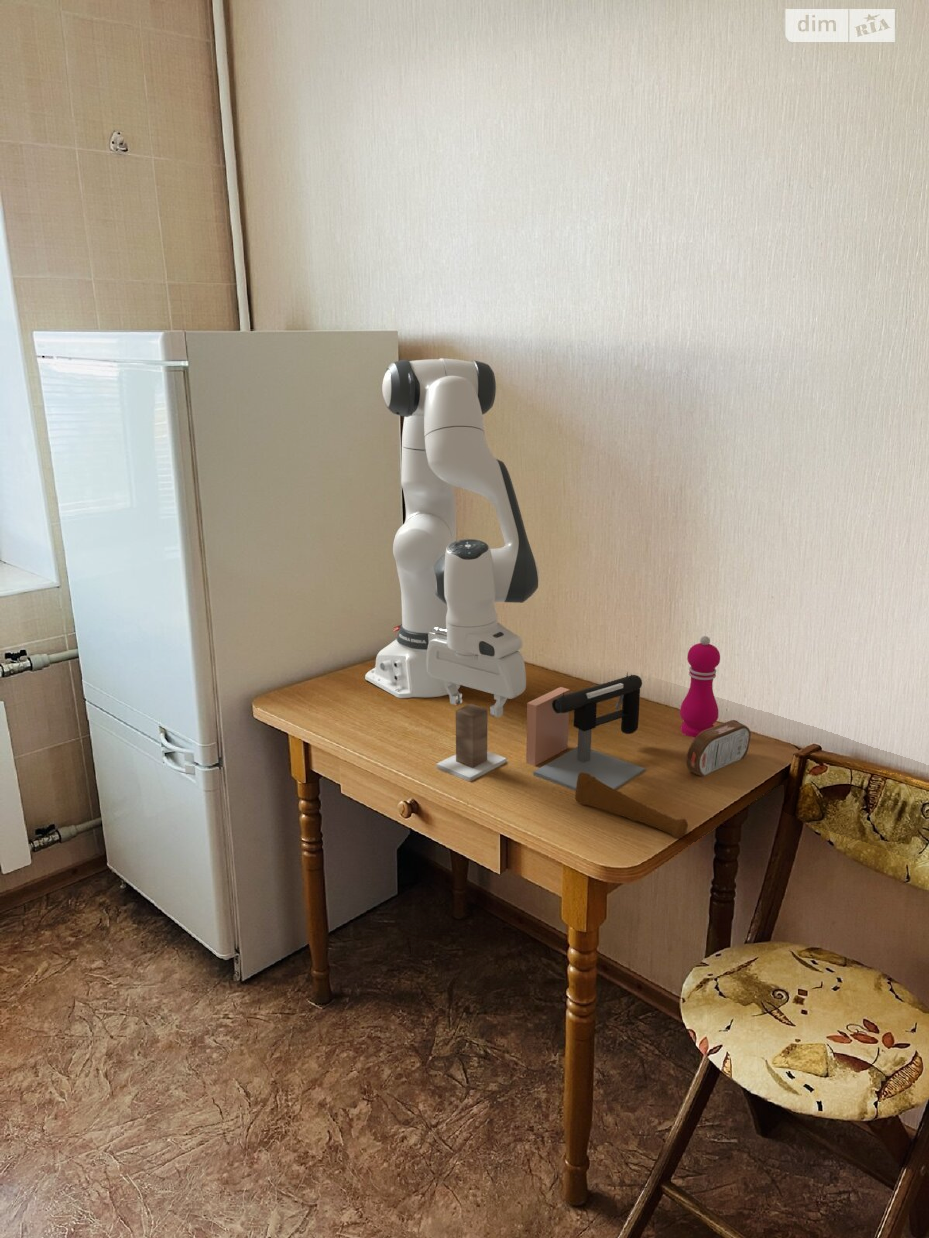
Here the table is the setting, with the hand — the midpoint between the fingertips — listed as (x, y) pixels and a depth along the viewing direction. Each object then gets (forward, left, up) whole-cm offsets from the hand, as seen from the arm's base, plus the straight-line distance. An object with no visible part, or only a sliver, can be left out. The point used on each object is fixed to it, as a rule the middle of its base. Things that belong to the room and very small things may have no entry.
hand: (476, 709), depth 163 cm
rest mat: (+17, +11, -11) cm, 23 cm away
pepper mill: (+23, +39, -11) cm, 46 cm away
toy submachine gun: (+15, +16, -12) cm, 25 cm away
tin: (+33, +28, -11) cm, 45 cm away
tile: (+7, +12, -11) cm, 18 cm away
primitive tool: (+29, +2, -13) cm, 32 cm away
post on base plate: (-1, 0, -11) cm, 11 cm away
